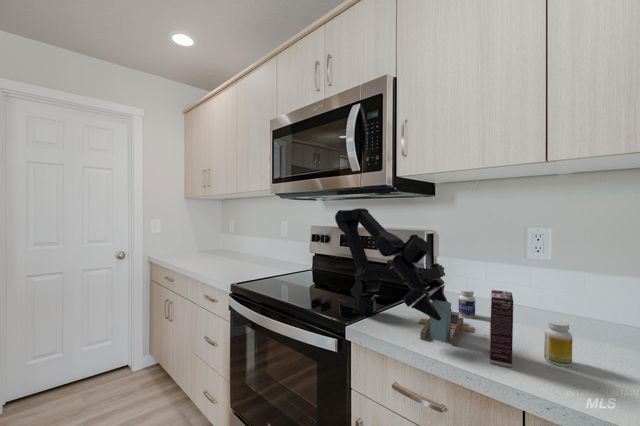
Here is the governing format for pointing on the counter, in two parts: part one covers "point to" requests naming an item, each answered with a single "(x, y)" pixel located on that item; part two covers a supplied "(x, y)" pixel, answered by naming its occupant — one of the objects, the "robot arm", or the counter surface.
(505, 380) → the counter surface
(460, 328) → the guide channel
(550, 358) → the supplement bottle
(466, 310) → the pill bottle
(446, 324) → the block
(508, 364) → the supplement box
